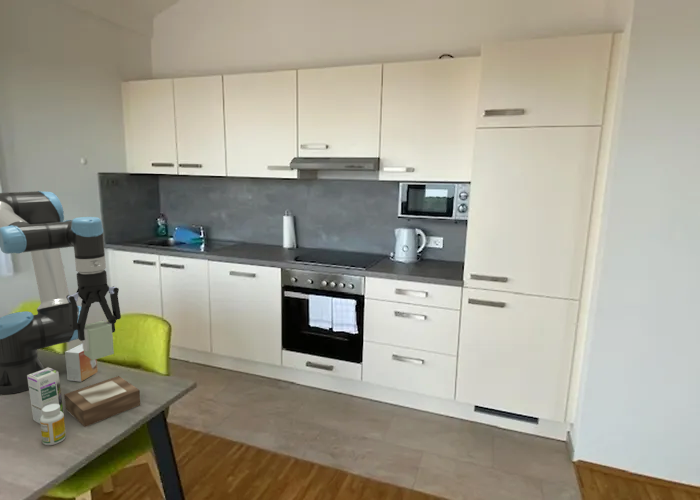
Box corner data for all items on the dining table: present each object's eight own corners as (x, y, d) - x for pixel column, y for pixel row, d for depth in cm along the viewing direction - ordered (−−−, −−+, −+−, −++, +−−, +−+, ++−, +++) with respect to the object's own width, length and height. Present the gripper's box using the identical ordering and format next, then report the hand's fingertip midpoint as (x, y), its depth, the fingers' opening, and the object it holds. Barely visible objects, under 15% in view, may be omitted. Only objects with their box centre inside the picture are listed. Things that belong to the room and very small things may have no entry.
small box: (81, 382, 155) (78, 353, 153) (67, 380, 156) (64, 351, 154) (98, 372, 162) (96, 344, 160) (84, 370, 164) (82, 342, 162)
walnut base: (65, 409, 138) (64, 393, 137) (119, 389, 150) (118, 375, 149) (84, 427, 130) (83, 410, 129) (140, 404, 142) (139, 389, 141)
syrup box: (43, 426, 129) (37, 379, 127) (32, 420, 132) (26, 373, 129) (64, 416, 134) (59, 371, 131) (53, 411, 137) (47, 366, 134)
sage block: (84, 354, 136) (81, 325, 134) (105, 348, 141) (102, 320, 139) (92, 360, 132) (89, 330, 131) (113, 353, 137) (111, 325, 135)
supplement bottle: (40, 447, 120) (36, 414, 118) (45, 436, 125) (41, 404, 123) (64, 443, 122) (60, 410, 120) (67, 432, 127) (64, 400, 125)
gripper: (59, 279, 122) (67, 360, 127) (130, 267, 136) (135, 340, 141) (49, 274, 127) (57, 352, 131) (119, 263, 141) (124, 334, 146)
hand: (98, 346), depth 136 cm, fingers closed on sage block, 6 cm apart
